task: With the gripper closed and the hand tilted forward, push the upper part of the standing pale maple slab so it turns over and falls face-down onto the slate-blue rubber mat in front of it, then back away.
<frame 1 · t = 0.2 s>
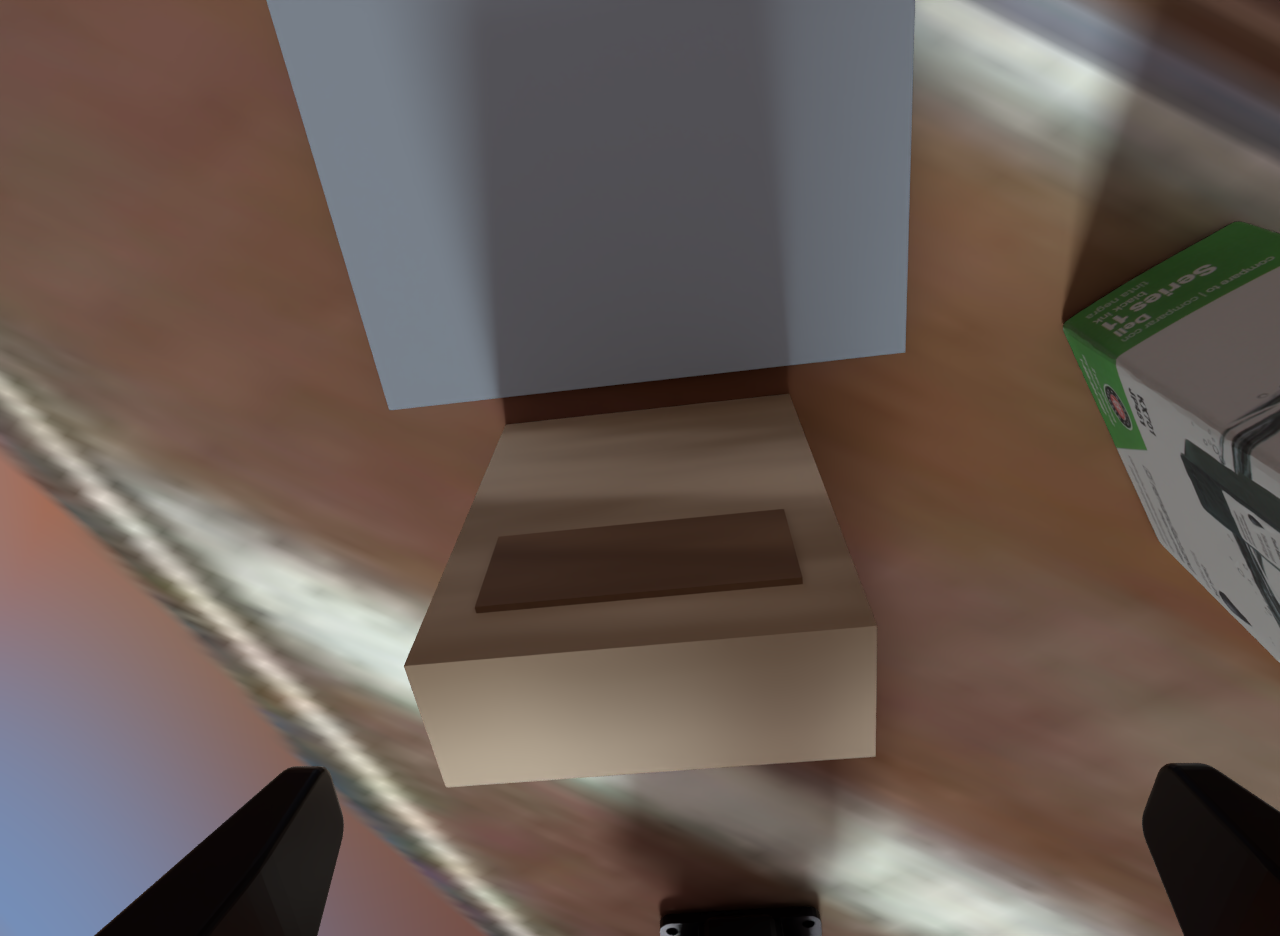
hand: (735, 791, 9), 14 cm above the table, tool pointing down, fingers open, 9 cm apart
ink box: (1191, 397, 22), on the table
rubber mat: (608, 142, 19), on the table
maple slab: (651, 456, 23), on the table
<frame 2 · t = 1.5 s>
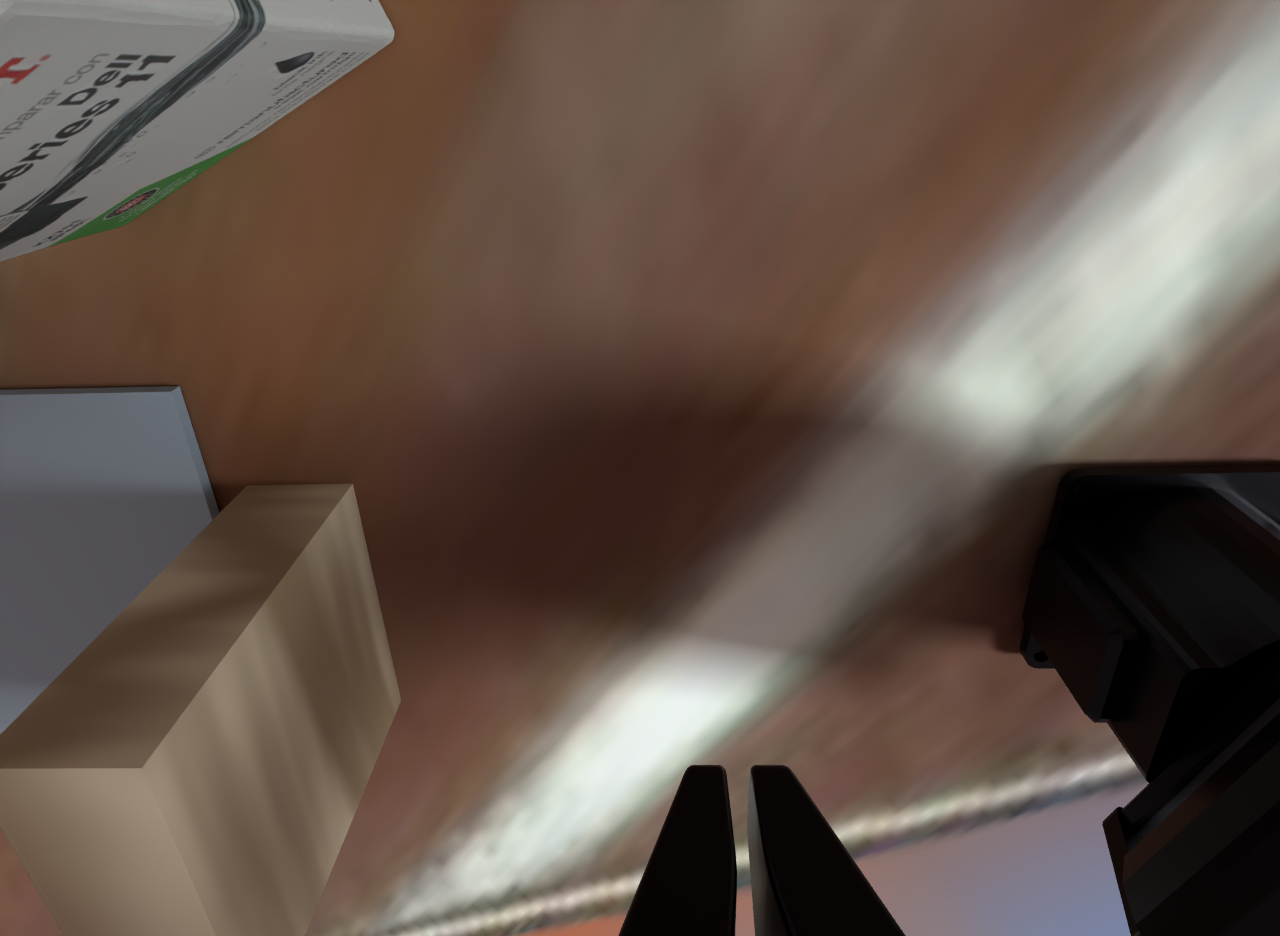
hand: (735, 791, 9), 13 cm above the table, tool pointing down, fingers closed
ink box: (189, 35, 17), on the table
rubber mat: (55, 604, 24), on the table
maple slab: (329, 600, 24), on the table
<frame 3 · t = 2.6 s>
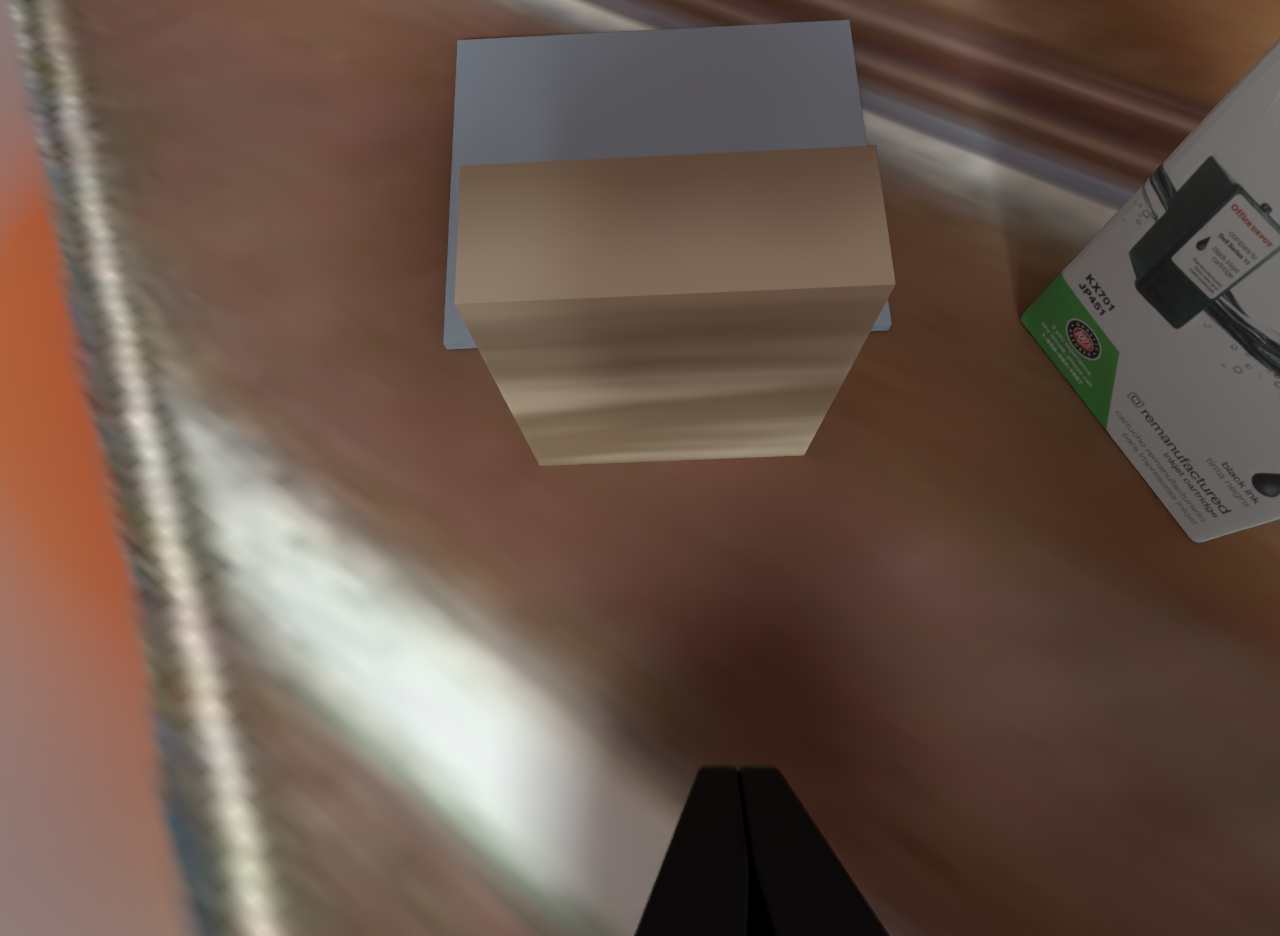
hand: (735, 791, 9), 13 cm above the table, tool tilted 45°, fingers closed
ink box: (1158, 396, 24), on the table
rubber mat: (658, 179, 27), on the table
maple slab: (669, 414, 24), on the table
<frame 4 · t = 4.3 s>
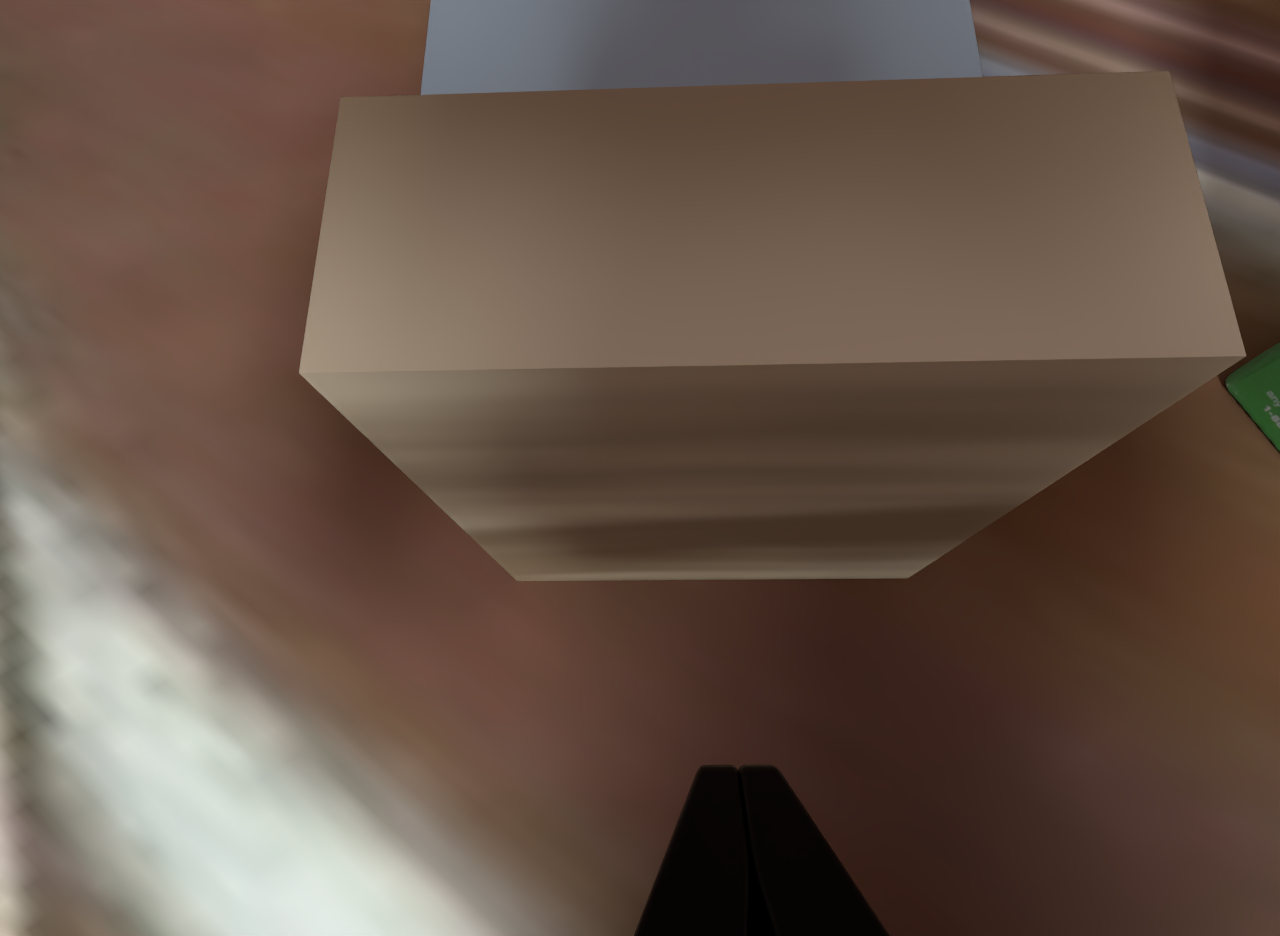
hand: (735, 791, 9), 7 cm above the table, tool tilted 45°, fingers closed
rubber mat: (699, 173, 19), on the table
maple slab: (708, 509, 17), on the table
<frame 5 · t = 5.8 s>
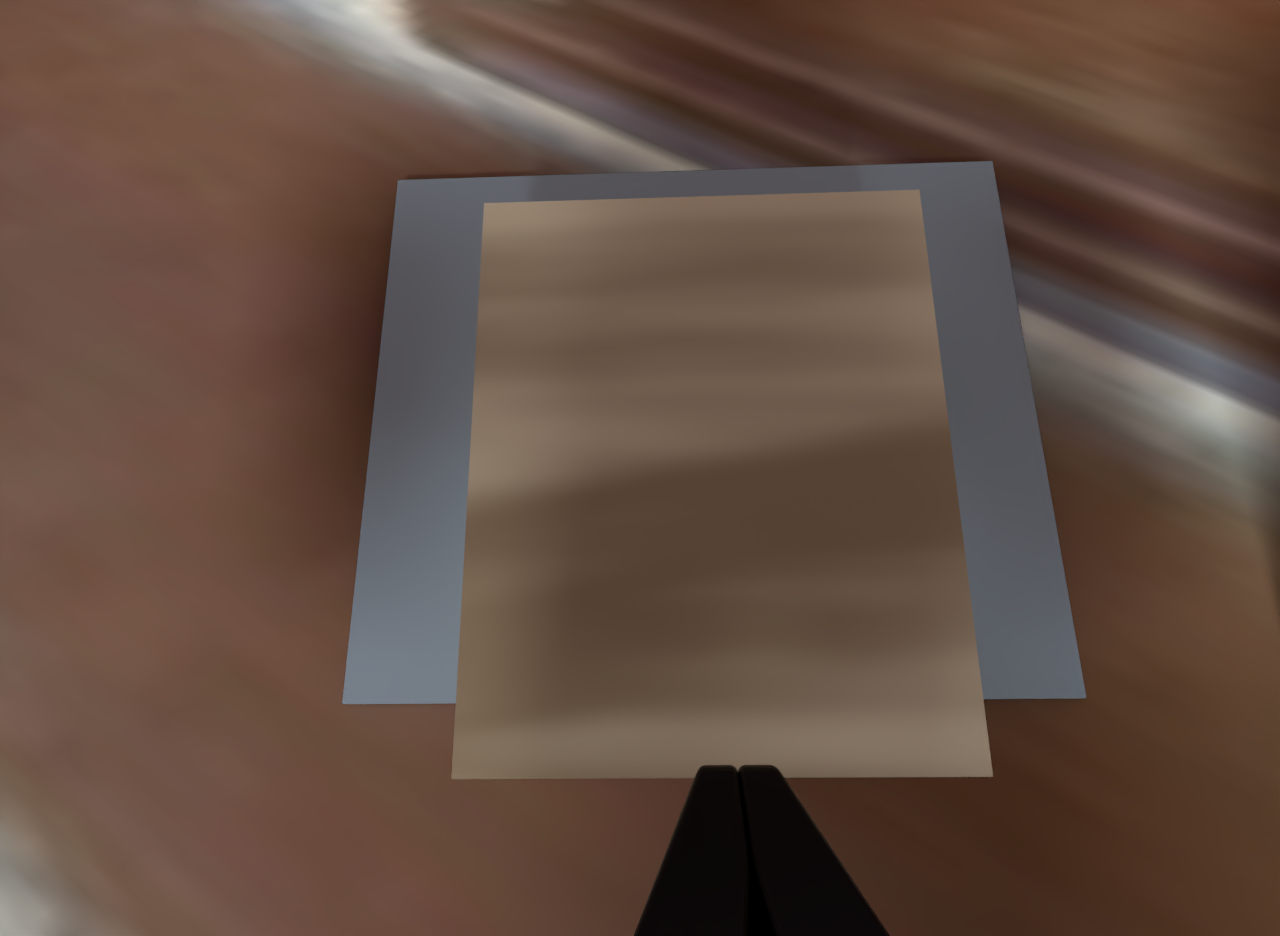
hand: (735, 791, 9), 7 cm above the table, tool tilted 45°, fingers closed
rubber mat: (698, 413, 17), on the table
maple slab: (713, 769, 13), point 2 cm above the table, tilted 88°, touching rubber mat
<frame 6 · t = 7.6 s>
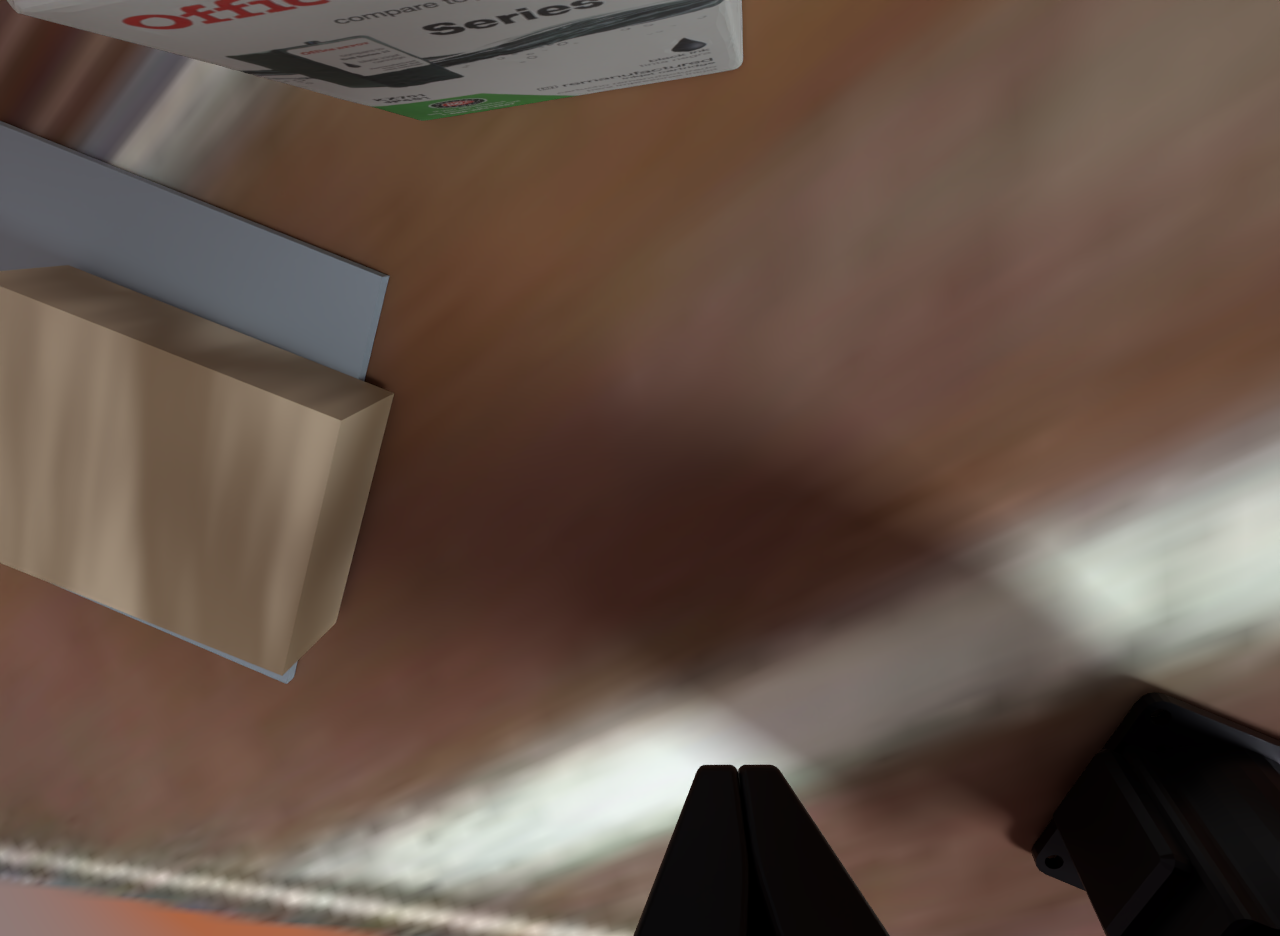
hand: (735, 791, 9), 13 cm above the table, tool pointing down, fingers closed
rubber mat: (159, 423, 24), on the table
maple slab: (338, 534, 22), point 2 cm above the table, tilted 88°, touching rubber mat
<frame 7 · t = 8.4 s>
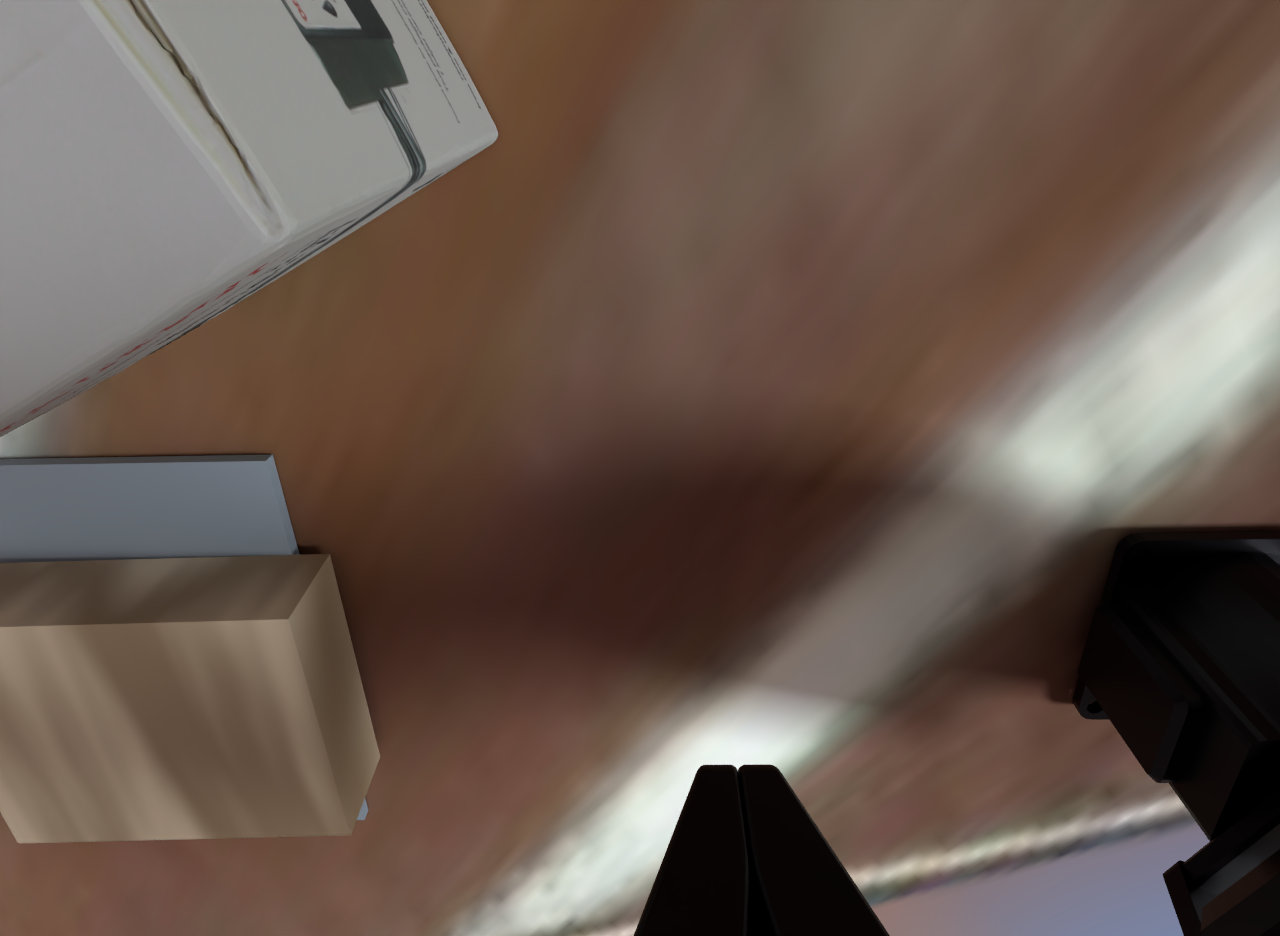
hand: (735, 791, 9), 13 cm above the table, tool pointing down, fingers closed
ink box: (299, 133, 18), on the table
rubber mat: (139, 656, 25), on the table
maple slab: (340, 697, 23), point 2 cm above the table, tilted 88°, touching rubber mat
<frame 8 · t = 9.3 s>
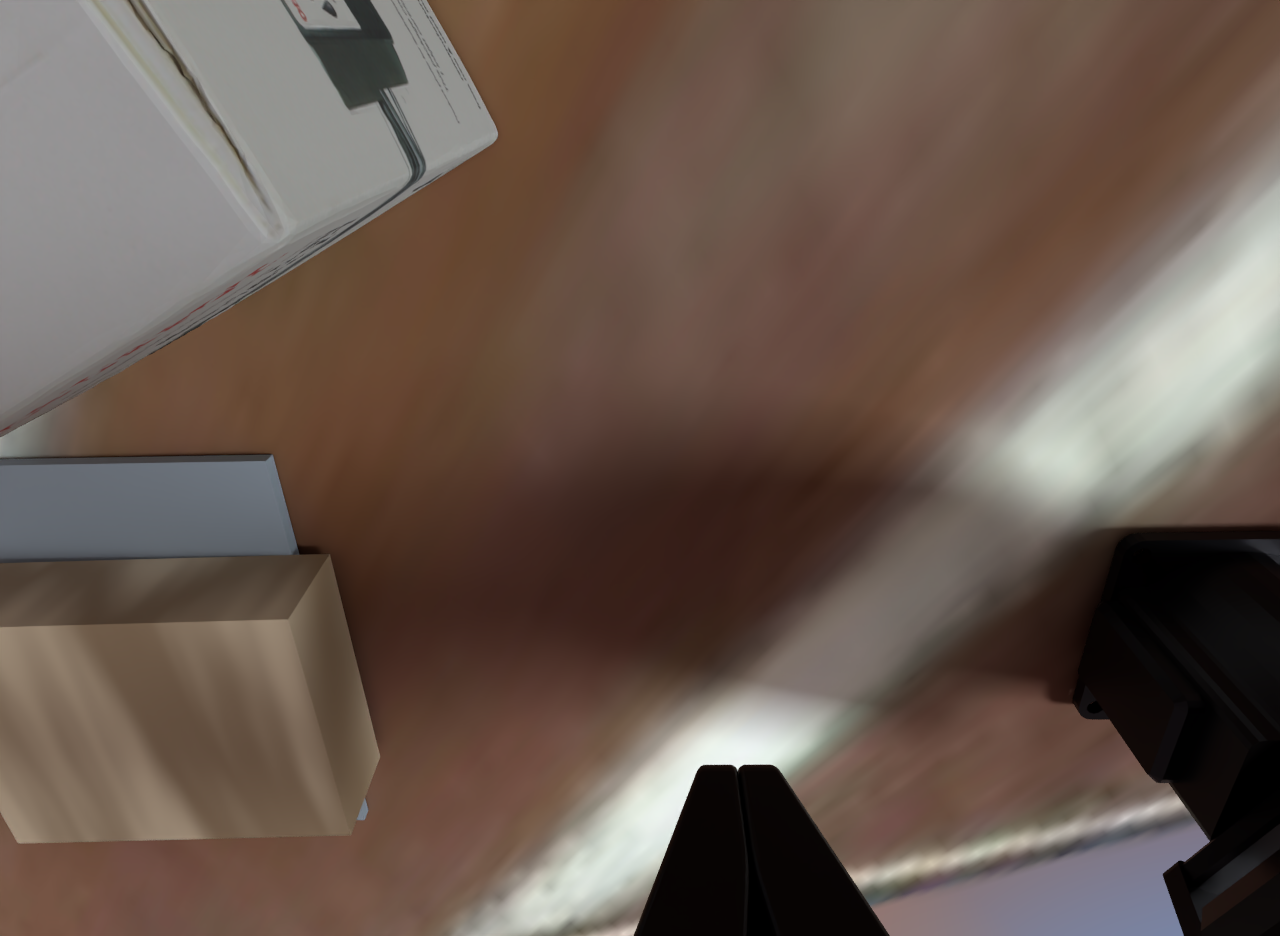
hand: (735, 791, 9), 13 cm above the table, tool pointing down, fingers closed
ink box: (299, 133, 18), on the table
rubber mat: (139, 656, 25), on the table
maple slab: (340, 697, 23), point 2 cm above the table, tilted 88°, touching rubber mat
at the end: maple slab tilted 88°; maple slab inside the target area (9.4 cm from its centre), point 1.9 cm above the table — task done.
